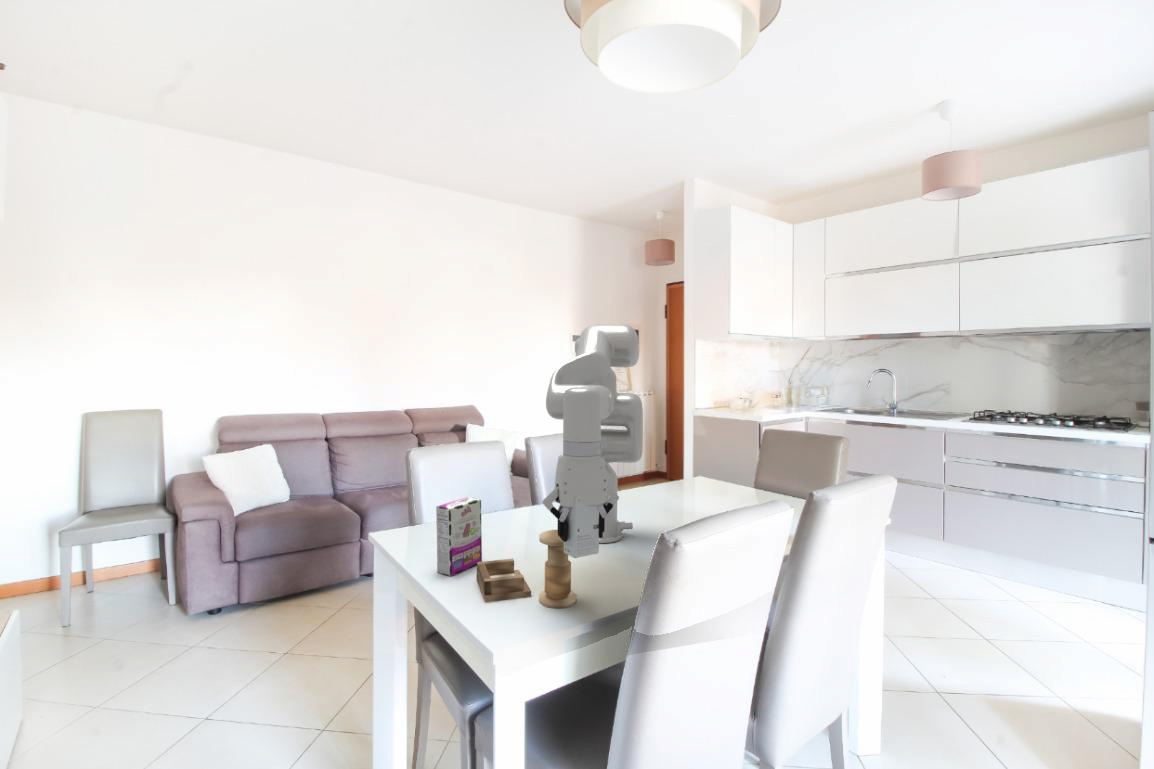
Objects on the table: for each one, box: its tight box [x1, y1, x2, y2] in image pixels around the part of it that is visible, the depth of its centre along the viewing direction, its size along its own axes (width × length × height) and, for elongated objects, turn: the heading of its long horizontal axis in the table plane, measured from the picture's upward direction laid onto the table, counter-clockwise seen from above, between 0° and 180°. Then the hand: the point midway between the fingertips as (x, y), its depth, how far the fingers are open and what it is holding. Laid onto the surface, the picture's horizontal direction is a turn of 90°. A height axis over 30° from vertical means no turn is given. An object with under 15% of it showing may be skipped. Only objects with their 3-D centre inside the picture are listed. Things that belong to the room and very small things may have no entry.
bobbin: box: [538, 529, 577, 609], centre depth 118 cm, size 8×8×14 cm
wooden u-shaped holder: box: [476, 558, 532, 603], centre depth 124 cm, size 10×13×4 cm
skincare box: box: [564, 497, 600, 559], centre depth 110 cm, size 6×4×12 cm
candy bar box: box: [435, 496, 483, 577], centre depth 136 cm, size 11×5×16 cm, turn 148°
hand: (581, 537), depth 111 cm, fingers closed on skincare box, 6 cm apart
